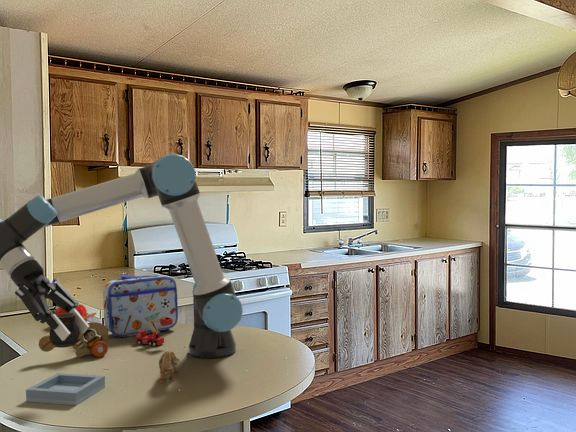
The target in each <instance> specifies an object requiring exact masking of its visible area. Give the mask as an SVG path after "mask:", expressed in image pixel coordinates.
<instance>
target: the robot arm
mask: <svg viewBox="0 0 576 432" xmlns="http://www.w3.org/2000/svg"><path fill="white" fill-rule="evenodd" d="M196 176H197V174H196V170H195V167H194V165H193V164H192V162H191V161H190V160H189V159H188V158H187V157H185V156H183V155H181V154H177V153H169V154H165V155H163V156H160V157H159V158H158V159H157V160H156V161H154V162H152V163H150V164H148V165H146V166H143V167H140V168H137V169H136V170H135V172H134V173H132V174H128V175H126V176H121V177H119V178H115V179H111V180H107V181H104V182H100V183H98V184H95V185H90V186H87V187H84V188H81V189H77V190H75V191H71V192H68V193H64V194H60V195H57V196H55V197H51V198H47V199H46V198H45V197H44V196H42V195H36V196H35V197H34V198H32V199H30V200H28V201H27V202H26V203H25V204H24V205H22V207H20V208H19V209H17V210H16V211H15V212H14V213H12V214H11V215H10V216H9V217H7V218H6V219H4V220H3V218H0V266H1V268H2V269H3V270H4V272H5V273H6V274H7V275H8V276H9V277H10V280H11V281H12V282H13V283H14V284H15V285H16V287H17V289H16V290H15V292H14V294H15V295H16V296H17V297H18V298H19V299H20V300H21V301H22V303H23V304H24V306H25V308H27V310H28V312H29V313H30V315H31V316H32V317H33V319H34V320H35V321H36V322H40V323H41V324H45V323H46V324H47V325H48V327H49V328H50V330H51V329H52V330H54V331H55V332H56V334H57V335H58V336H59V337H60V339H61V340H62V341H64V340H65V339H66V338H67V337H68V336H69V334H70V332H69V331H68V329H67V328H66V327H65V326H64V324H63V323H62V322H61V321H60V320H59V318H58V317H57V316H56V315H55V314H53V313H52V311H51V310H50V307H49V305H48V302H47V299H49V300H50V301H52V302H53V303H54V304H55V305H56V306H58V308H59V307H61V308H62V309H63V310H65V311H66V312H67V313H74V314H76V319H75V321H76V324H77V326H78V328H79V331H80V332H81V333H84V332H85V331H86V330H87V329H88V328H89V325H88V324H87V323H88V321H87V322H86V321H85V320H84V319H83V317H82V315H80V313H79V312H78V311H77V309H76V307H77V306H78V305H80V304H79V302H78V300H76V298H75V297H74V296H73V295H72V294H71V293H70V292H69V291H68V290H67V289H66V288H65V287H64V286H63V285H62V284H61V282H60V280H59V279H58V277H57V278H56V277H54V279H49V278H48V277H46V276H45V274H44V273H45V272H44V268H43V267H42V265H41V264H40V263H39V262H38V261H37V260H36V259H35V257H34V256H33V255H32V253H31V252H30V251H29V250H28V248H27V247H25V245H24V242H26V241H27V240H28V239H30V238H31V237H32V236H34V235H35V234H36V233H38V232H39V231H40V230H41V229H44V228H47V227H50V226H53V225H56V224H59V223H61V222H66V221H68V220H72V219H75V218H78V217H81V216H82V217H83V216H85V215H87V214H91V213H95V212H98V211H102V210H105V209H107V208H110V207H114V206H117V205H120V204H124V203H127V202H131V201H134V200H137V199H140V198H145V199H151V198H155V197H158V199H159V202H160V204H161V207H162V208H164V209H166V210H168V211H169V214H170V217H171V221H172V222H173V225H174V228H175V231H176V233H177V237H178V239H179V242H180V245H181V247H182V250H183V253H184V255H185V259H186V262H187V265H188V266H189V270H190V273H191V276H192V278H193V281H194V283H193V286H192V300H193V303H192V304H193V306H192V307H193V330H192V334H191V338H190V341H189V344H188V354H189V355H190V356H193V357H195V358H201V359H202V358H203V359H213V358H215V359H216V358H223V357H226V356H230V355H232V354H234V353H235V352H236V351H237V350H236V348H237V346H236V345H237V344H236V341H235V338H234V335H233V332H232V330H233V329H234V328H236V326H237V325H238V324H239V323H240V322H241V319H242V316H243V313H244V311H243V309H244V308H243V305H242V302H241V300H240V299H239V298H238V297H237V295H236V293H235V290H234V287H233V283H232V281H231V279H230V278H229V277H227V276H225V275H224V274H223V271H222V268H221V265H220V261H219V260H218V259H219V258H218V256H217V253H216V251H215V248H214V245H213V242H212V240H211V237H210V233H209V231H208V228H207V225H206V221H205V219H204V216H203V213H202V210H201V208H200V204H199V202H198V199H199V197H200V195H201V191H200V189H199V186H198V183H197V181H196ZM88 330H89V329H88Z"/></svg>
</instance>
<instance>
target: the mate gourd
mask: <svg viewBox="0 0 576 432" xmlns="http://www.w3.org/2000/svg"><path fill="white" fill-rule="evenodd" d="M55 312H56V311H54V310H51V313H52V315H53V314H55V315H56V316H57V317H58V318H59V320H60V321H61V322H62V323H63V324H64V326H65V327H66V328H67V329H68V331H69V332H70V334H69V336H68V337H67V338H66V339H65V340H64V341H62V340H61V339H60V337H59V336H58V335H57V334H56V332H55V331H54V330H52V329H51V328H50V330H49V337H50V340H51V343H52V344H53V345H54V346H55V348H61V349H62V348H69V347H72V346H74V345H75V344H76V343H77V341H78V338H79V335H80V331H79V328H78V326H77V324H76V321H75V319H76V314H74V313H60V314H56V313H55Z"/></svg>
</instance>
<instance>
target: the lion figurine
mask: <svg viewBox="0 0 576 432" xmlns="http://www.w3.org/2000/svg"><path fill="white" fill-rule="evenodd" d="M179 361H180V359H179V358H177V356H176V354H175V352H174V351H172V350H167V351H165V352H163V353H162V355H161V356H160V358H159V361H158V366H159V367H158V368H159V373H160V379H161V380H160V381H159V383H161V384H164V383H165V381H166V379H165V376H166V375H167V374H169V378H168V379H169V382H170V383H171V382H175V378H174V372H175V373H176V372H177V371H178V370H177V366H178V363H179Z"/></svg>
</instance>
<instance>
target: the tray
mask: <svg viewBox="0 0 576 432" xmlns="http://www.w3.org/2000/svg"><path fill="white" fill-rule="evenodd" d="M105 388H106V377H105V375H96V374H95V375H93V374H80V373H79V374H78V373H64V372H63V373H62V372H58V373H56V374H54V375H51V376H50V377H48V378H46V379H44V380H42V381H40V382H38V383H36V384H34V385H32V386H30V387H29V388H26V389H25V400H26V402H29V403H40V404H41V403H42V404H54V405H70V406H78V405H79V404H81V403H82V402H84V401H86V400H88V398H89V399H90V398H91V397H92V396H94V395H95V394H97V393H98V392H100V390H103V389H105Z"/></svg>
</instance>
